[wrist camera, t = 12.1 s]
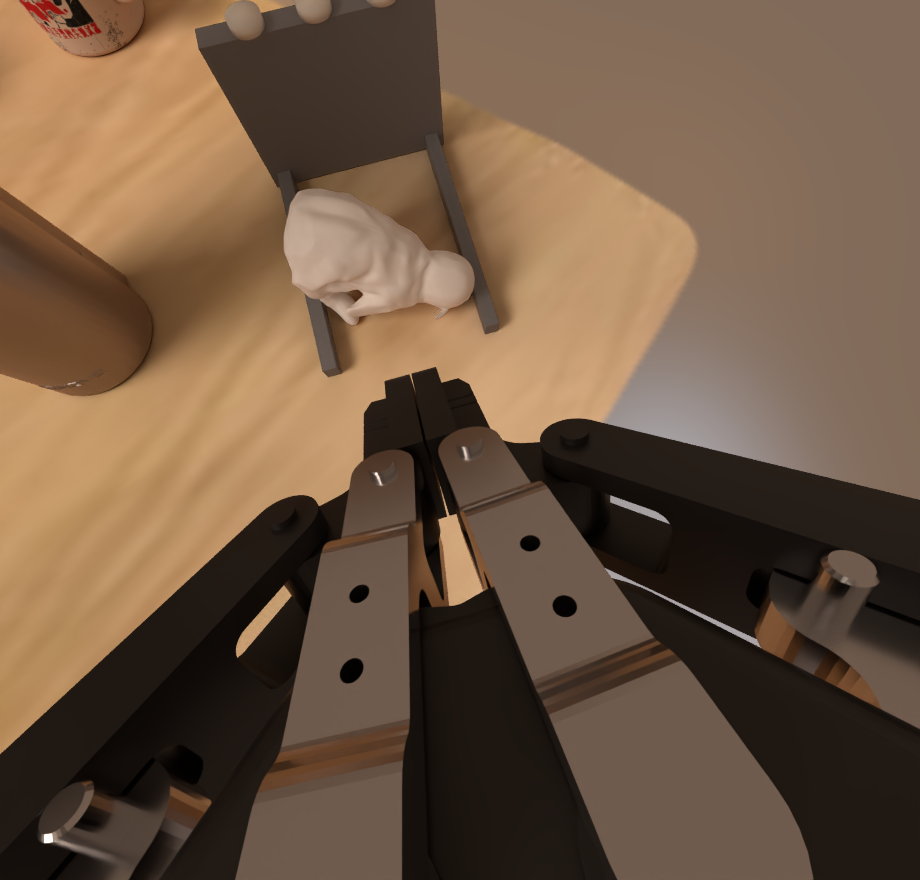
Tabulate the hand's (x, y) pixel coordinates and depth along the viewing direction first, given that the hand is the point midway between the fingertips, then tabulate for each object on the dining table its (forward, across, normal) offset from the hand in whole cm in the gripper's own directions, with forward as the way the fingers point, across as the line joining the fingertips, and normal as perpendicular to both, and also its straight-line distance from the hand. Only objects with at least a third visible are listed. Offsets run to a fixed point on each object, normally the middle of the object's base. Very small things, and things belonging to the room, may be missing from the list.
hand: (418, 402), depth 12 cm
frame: (+25, 0, -1) cm, 25 cm away
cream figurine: (+22, 0, +3) cm, 22 cm away
